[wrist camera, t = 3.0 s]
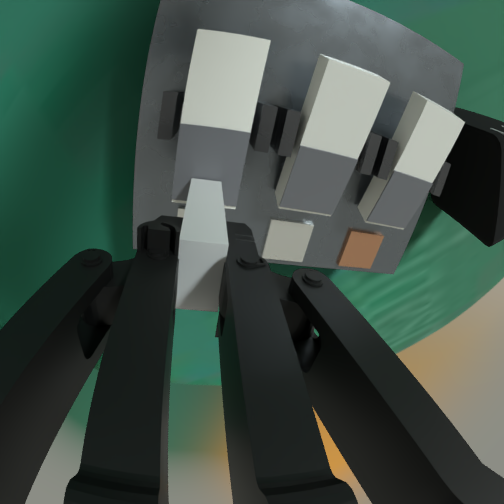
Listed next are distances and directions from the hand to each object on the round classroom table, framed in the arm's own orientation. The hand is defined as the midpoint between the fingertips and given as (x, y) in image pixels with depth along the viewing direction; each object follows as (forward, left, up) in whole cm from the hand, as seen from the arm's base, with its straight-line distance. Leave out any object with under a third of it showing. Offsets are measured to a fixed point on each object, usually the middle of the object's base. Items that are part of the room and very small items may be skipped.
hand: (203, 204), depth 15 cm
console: (-4, +6, -9) cm, 12 cm away
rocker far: (-4, +12, -1) cm, 13 cm away
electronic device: (-6, +23, -9) cm, 25 cm away
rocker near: (-4, 0, -1) cm, 4 cm away
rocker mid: (-4, +6, -1) cm, 7 cm away
